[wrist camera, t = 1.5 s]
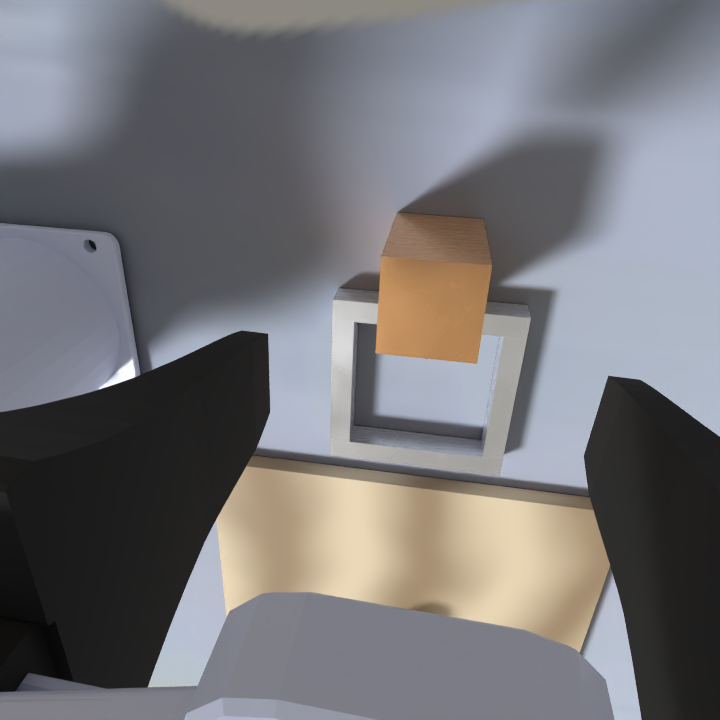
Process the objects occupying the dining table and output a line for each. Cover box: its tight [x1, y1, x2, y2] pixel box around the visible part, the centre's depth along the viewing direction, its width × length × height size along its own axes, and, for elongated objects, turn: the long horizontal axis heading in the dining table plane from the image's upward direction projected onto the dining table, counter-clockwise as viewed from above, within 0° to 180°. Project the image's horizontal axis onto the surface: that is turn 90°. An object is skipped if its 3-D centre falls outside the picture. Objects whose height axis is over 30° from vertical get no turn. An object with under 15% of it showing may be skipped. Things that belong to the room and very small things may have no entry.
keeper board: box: [216, 455, 610, 653], centre depth 27 cm, size 18×14×4 cm
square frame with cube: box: [330, 213, 531, 476], centre depth 20 cm, size 10×7×5 cm
